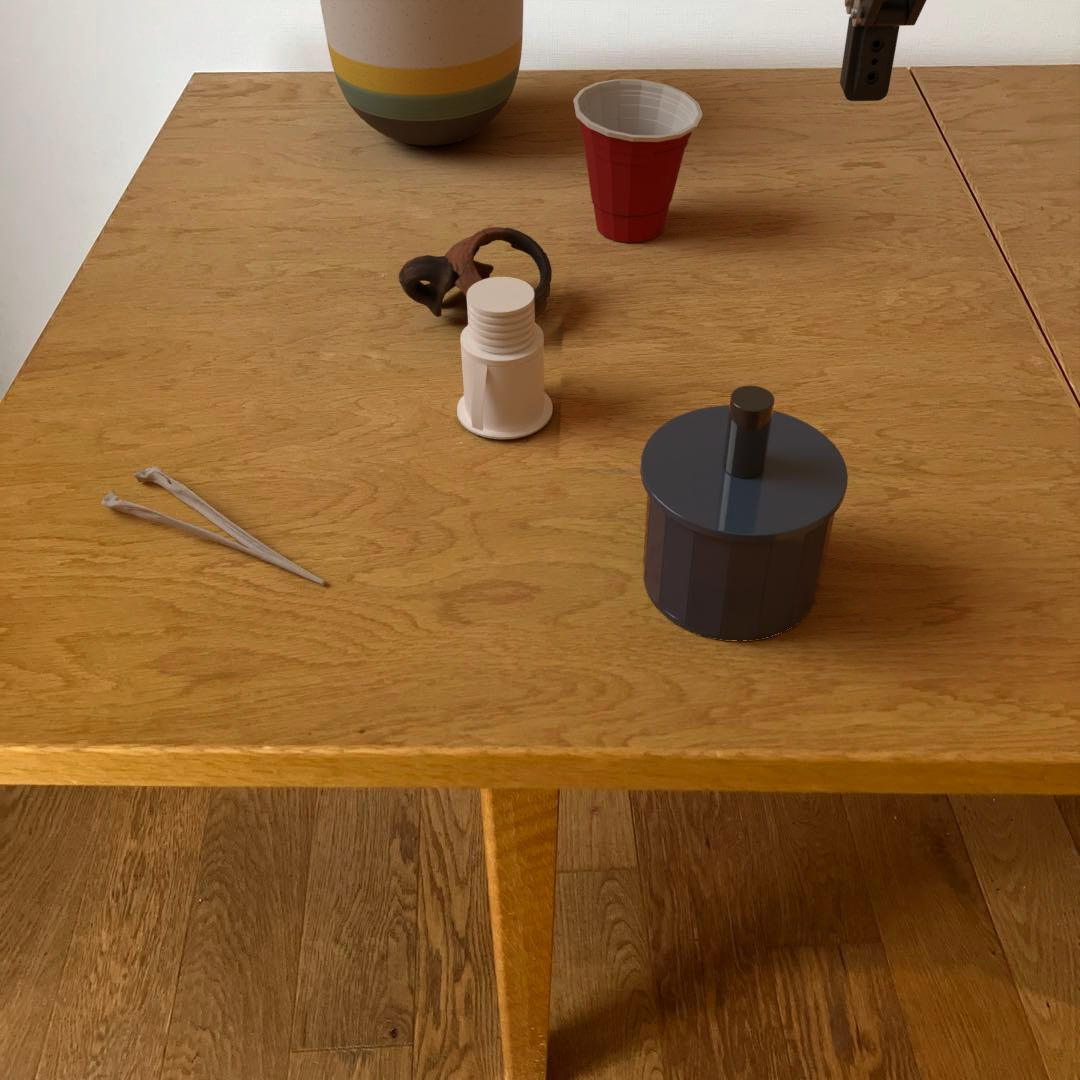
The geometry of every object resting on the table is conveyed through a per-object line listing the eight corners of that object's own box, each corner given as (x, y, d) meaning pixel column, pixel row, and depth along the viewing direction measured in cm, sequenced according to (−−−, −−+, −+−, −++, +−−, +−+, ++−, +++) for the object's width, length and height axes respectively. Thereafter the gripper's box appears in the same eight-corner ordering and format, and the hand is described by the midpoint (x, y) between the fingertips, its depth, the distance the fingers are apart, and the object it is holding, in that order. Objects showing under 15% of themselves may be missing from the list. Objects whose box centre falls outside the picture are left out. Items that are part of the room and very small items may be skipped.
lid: (828, 421, 74) (844, 338, 70) (860, 552, 65) (880, 467, 61) (636, 419, 74) (641, 337, 70) (643, 549, 65) (648, 464, 61)
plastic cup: (660, 275, 102) (669, 140, 94) (549, 245, 106) (549, 113, 98) (711, 221, 109) (724, 91, 101) (606, 195, 113) (610, 67, 105)
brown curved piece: (514, 276, 103) (549, 216, 96) (535, 371, 100) (573, 317, 93) (379, 269, 98) (405, 205, 91) (397, 369, 95) (426, 311, 88)
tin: (805, 521, 79) (824, 418, 73) (828, 643, 71) (852, 537, 65) (640, 519, 79) (646, 416, 73) (646, 640, 71) (653, 535, 65)
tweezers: (98, 512, 80) (92, 490, 79) (150, 474, 83) (145, 452, 82) (301, 622, 74) (298, 600, 73) (349, 577, 77) (347, 555, 76)
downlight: (490, 372, 92) (484, 255, 85) (572, 397, 89) (573, 278, 83) (435, 429, 87) (425, 309, 80) (521, 457, 84) (517, 336, 77)
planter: (493, 185, 114) (483, -54, 100) (306, 162, 119) (271, -71, 104) (549, 104, 128) (547, -116, 114) (379, 86, 132) (357, -129, 118)
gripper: (1067, -291, 45) (967, 150, 57) (979, -341, 55) (909, 45, 66) (865, -285, 45) (807, 153, 57) (813, -336, 55) (773, 47, 67)
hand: (862, 94), depth 62 cm, fingers closed
